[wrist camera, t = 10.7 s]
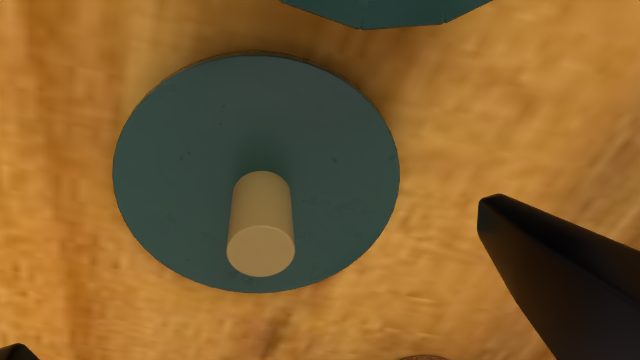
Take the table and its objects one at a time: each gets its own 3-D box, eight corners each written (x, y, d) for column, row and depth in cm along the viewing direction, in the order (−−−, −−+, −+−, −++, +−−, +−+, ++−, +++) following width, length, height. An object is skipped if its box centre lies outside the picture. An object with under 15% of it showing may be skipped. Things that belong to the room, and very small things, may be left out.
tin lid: (388, 264, 23) (413, 340, 19) (158, 288, 22) (135, 373, 18) (400, 34, 17) (442, 78, 13) (78, 58, 16) (17, 112, 12)
